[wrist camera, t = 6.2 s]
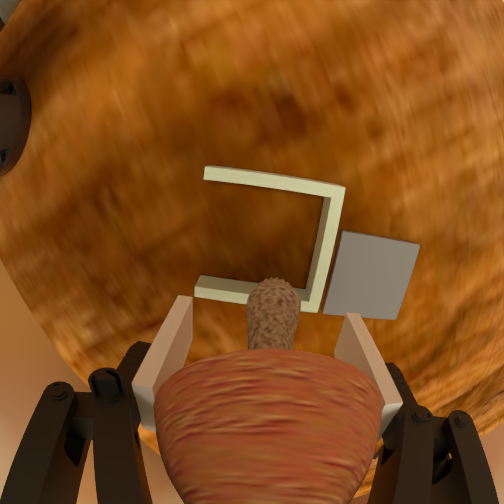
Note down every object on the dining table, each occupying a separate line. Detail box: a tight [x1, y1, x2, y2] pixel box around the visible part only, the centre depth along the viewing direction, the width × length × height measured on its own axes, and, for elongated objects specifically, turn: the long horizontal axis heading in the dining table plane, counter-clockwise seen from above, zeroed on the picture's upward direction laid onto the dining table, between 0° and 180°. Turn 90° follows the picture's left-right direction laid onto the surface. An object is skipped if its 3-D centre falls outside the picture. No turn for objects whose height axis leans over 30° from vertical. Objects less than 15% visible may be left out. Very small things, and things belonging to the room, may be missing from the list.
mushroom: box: [153, 277, 383, 504], centre depth 11 cm, size 8×8×15 cm
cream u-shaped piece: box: [194, 165, 345, 313], centre depth 30 cm, size 13×13×3 cm
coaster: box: [321, 229, 420, 320], centre depth 32 cm, size 10×10×1 cm
